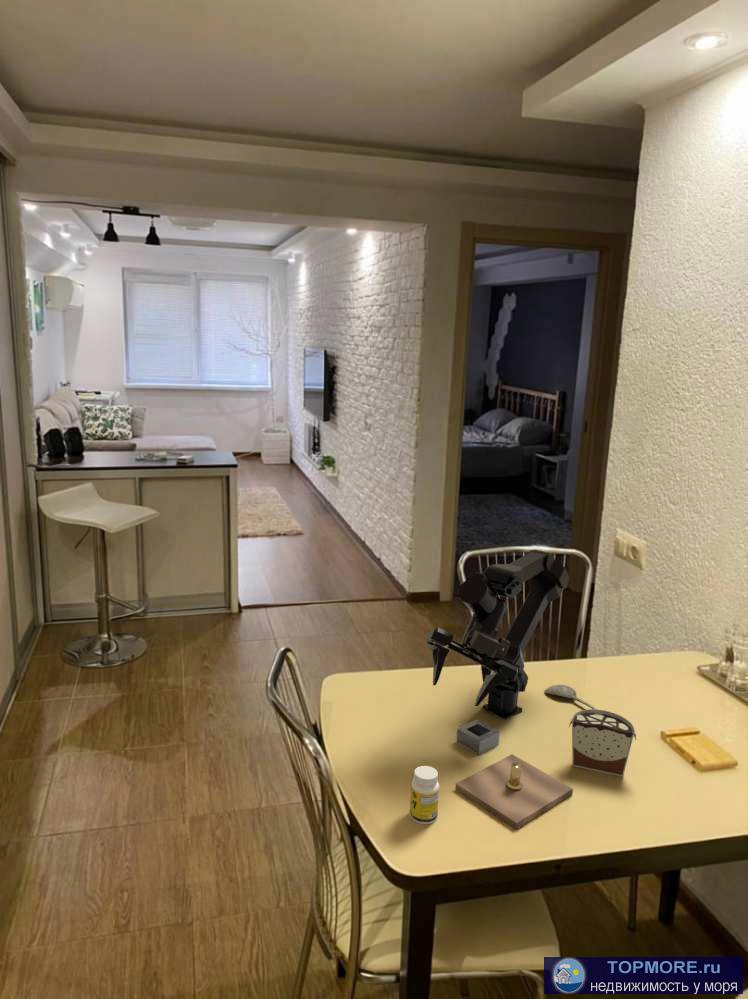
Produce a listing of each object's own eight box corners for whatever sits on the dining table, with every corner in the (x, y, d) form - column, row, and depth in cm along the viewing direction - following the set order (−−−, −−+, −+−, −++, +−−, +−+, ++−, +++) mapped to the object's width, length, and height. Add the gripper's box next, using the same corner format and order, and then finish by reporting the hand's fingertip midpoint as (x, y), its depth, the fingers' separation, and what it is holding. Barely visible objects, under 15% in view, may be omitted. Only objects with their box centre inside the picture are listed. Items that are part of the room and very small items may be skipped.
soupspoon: (558, 689, 175) (538, 696, 172) (558, 676, 174) (538, 682, 171) (632, 728, 157) (611, 736, 153) (633, 713, 156) (612, 722, 153)
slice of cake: (631, 761, 143) (637, 715, 141) (631, 778, 138) (637, 730, 135) (567, 748, 147) (571, 702, 145) (564, 764, 141) (569, 717, 139)
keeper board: (511, 759, 142) (512, 754, 142) (572, 794, 132) (573, 788, 132) (455, 789, 132) (455, 783, 132) (516, 829, 122) (516, 823, 121)
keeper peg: (513, 779, 134) (514, 760, 133) (525, 786, 131) (527, 767, 131) (503, 785, 132) (505, 765, 131) (515, 792, 130) (517, 772, 129)
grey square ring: (476, 732, 152) (477, 719, 151) (498, 745, 147) (499, 731, 147) (456, 741, 148) (457, 728, 147) (478, 755, 143) (479, 741, 143)
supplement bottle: (407, 807, 126) (410, 764, 124) (434, 807, 127) (437, 763, 125) (411, 825, 122) (414, 780, 120) (439, 825, 122) (442, 780, 120)
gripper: (454, 596, 139) (422, 671, 134) (540, 640, 140) (512, 716, 135) (439, 605, 150) (409, 675, 145) (519, 645, 150) (492, 716, 145)
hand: (455, 695), depth 142 cm, fingers open, 9 cm apart
